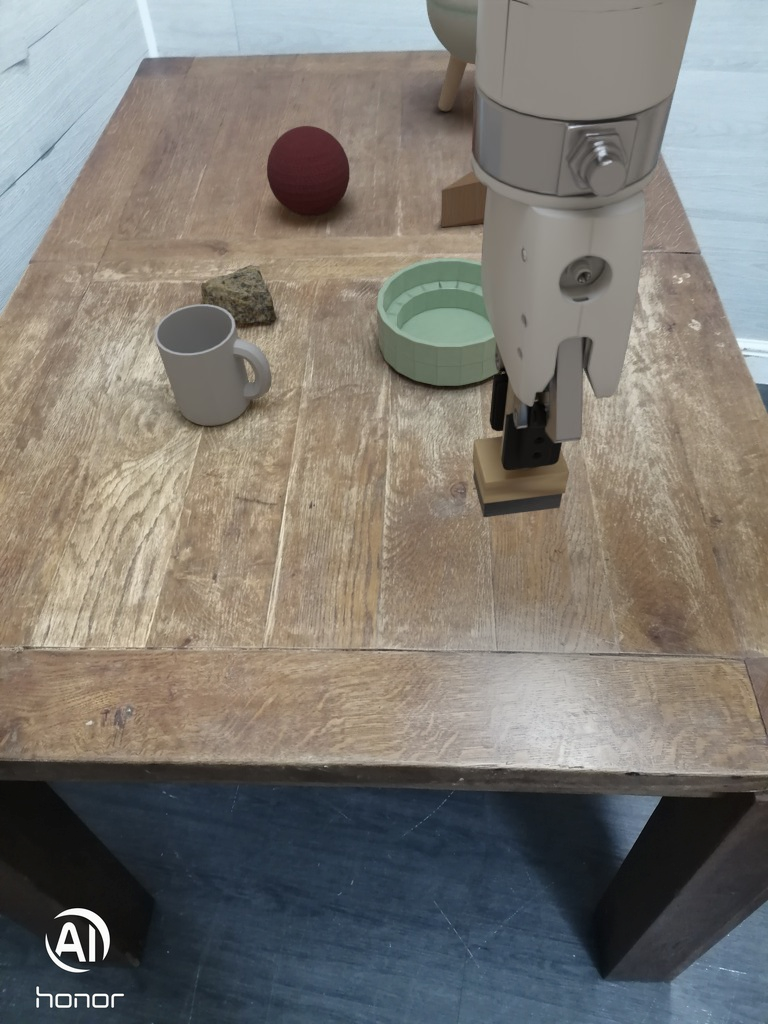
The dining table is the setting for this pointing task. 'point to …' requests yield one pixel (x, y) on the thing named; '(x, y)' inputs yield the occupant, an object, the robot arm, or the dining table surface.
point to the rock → (241, 295)
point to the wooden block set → (463, 202)
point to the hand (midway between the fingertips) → (522, 442)
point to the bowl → (437, 323)
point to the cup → (210, 364)
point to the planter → (454, 40)
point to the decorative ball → (308, 171)
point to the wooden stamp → (515, 476)
